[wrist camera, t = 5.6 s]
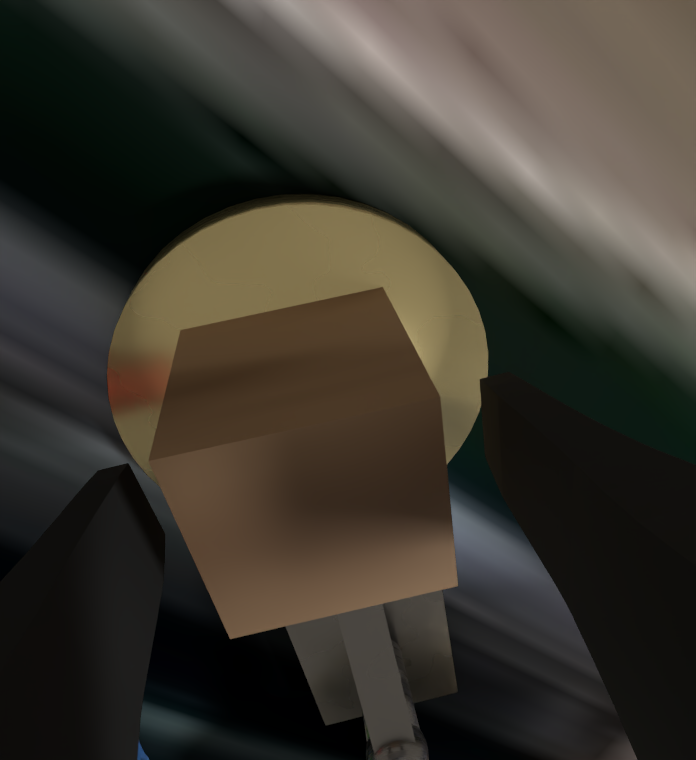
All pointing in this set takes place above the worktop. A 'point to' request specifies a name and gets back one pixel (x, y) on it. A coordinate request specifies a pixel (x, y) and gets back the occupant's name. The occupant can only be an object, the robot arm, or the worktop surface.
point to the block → (306, 462)
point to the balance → (295, 287)
